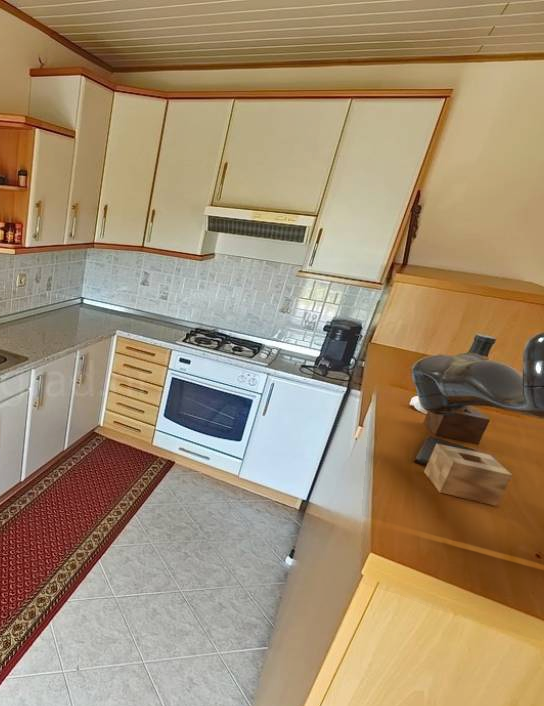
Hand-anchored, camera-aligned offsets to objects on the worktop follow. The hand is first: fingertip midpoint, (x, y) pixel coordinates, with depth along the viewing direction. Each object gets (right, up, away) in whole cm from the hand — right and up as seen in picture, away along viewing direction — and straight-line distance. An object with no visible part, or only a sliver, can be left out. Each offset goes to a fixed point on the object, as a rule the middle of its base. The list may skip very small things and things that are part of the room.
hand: (482, 364), depth 107 cm
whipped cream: (+2, -11, +17) cm, 21 cm away
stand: (-24, -23, -22) cm, 40 cm away
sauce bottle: (+12, -11, +22) cm, 27 cm away
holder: (-4, -16, +4) cm, 17 cm away
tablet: (-15, -20, -10) cm, 27 cm away
